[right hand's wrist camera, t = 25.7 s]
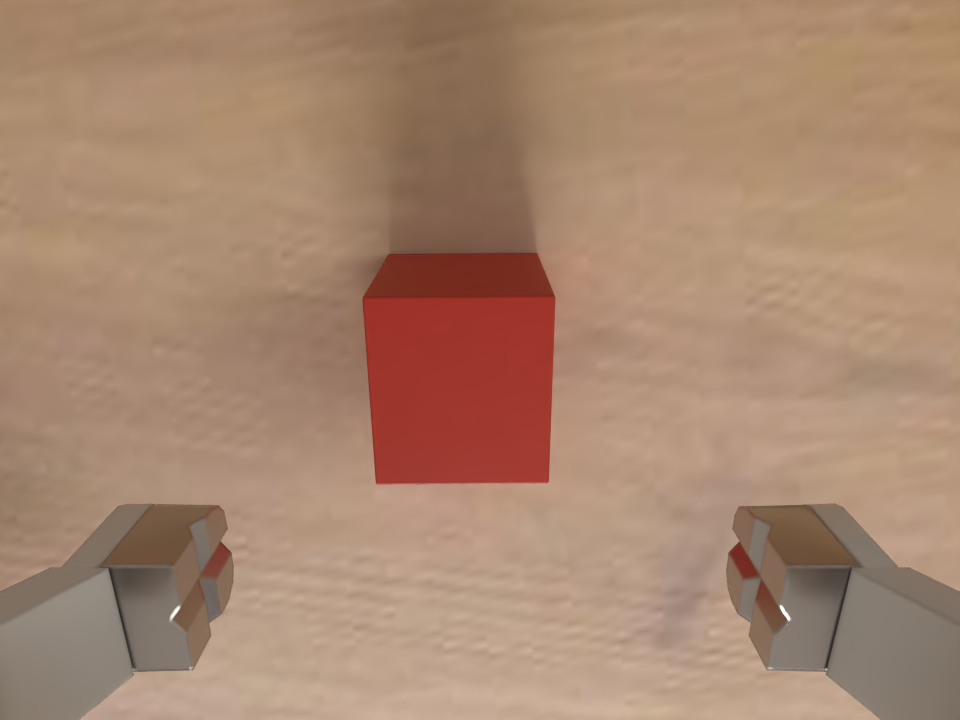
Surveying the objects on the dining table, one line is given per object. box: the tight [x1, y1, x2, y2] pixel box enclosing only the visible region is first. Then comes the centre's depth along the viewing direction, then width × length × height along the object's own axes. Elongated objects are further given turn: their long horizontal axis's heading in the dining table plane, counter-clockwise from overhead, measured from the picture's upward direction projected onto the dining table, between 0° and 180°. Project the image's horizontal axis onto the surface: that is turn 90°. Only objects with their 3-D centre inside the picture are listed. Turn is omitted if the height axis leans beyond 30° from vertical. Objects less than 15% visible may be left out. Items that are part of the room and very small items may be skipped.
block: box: [363, 253, 555, 484], centre depth 17 cm, size 5×4×4 cm
